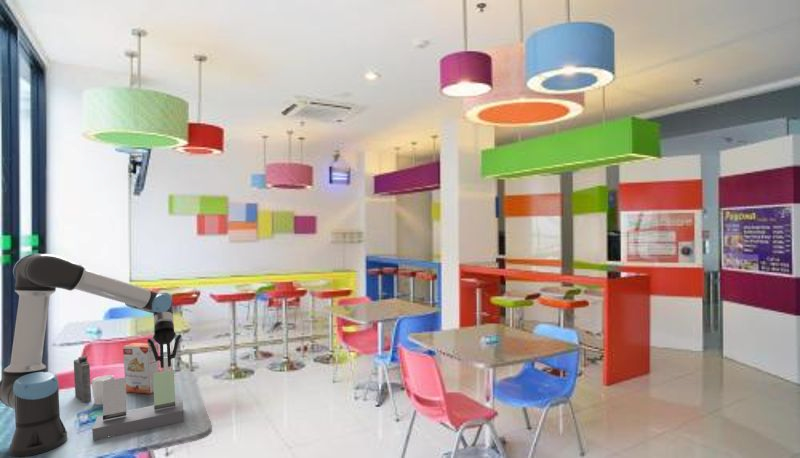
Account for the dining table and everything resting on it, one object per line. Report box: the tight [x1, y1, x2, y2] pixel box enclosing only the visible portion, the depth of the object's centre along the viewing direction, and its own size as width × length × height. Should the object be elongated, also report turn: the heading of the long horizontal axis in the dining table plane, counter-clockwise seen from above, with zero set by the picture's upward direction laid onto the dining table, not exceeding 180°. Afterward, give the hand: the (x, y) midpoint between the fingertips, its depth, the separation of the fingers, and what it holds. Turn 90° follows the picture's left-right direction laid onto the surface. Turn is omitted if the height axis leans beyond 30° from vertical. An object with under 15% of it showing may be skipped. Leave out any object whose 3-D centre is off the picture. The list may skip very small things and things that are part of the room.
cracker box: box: [122, 342, 160, 395], centre depth 200 cm, size 14×6×21 cm, turn 73°
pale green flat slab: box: [153, 369, 176, 410], centre depth 171 cm, size 2×7×13 cm, turn 116°
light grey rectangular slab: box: [102, 376, 127, 420], centre depth 163 cm, size 2×7×13 cm, turn 116°
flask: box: [73, 355, 92, 404], centre depth 195 cm, size 4×14×18 cm, turn 49°
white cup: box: [91, 374, 115, 406], centre depth 189 cm, size 8×8×10 cm
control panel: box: [91, 399, 185, 441], centre depth 165 cm, size 12×28×4 cm, turn 117°
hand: (166, 373), depth 180 cm, fingers closed
